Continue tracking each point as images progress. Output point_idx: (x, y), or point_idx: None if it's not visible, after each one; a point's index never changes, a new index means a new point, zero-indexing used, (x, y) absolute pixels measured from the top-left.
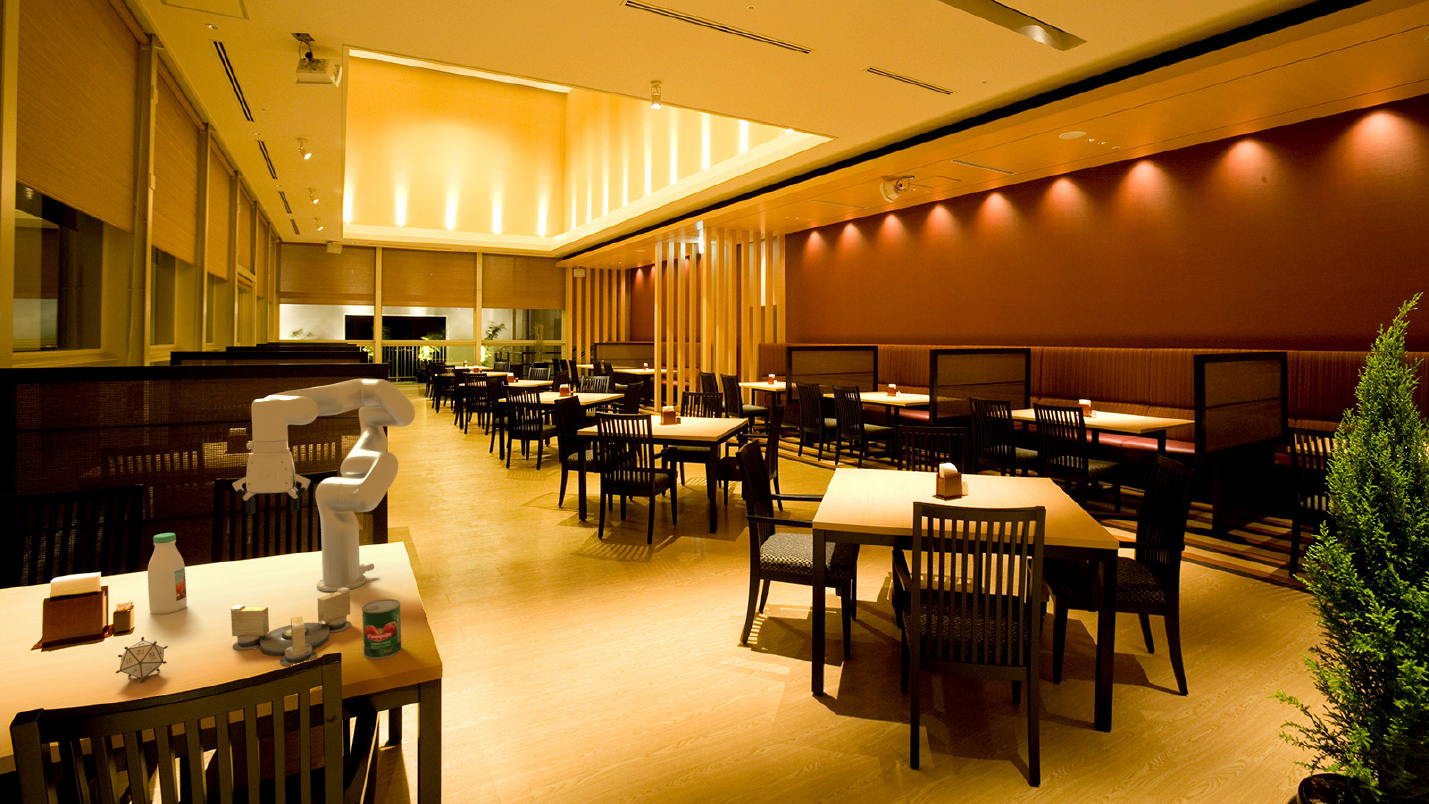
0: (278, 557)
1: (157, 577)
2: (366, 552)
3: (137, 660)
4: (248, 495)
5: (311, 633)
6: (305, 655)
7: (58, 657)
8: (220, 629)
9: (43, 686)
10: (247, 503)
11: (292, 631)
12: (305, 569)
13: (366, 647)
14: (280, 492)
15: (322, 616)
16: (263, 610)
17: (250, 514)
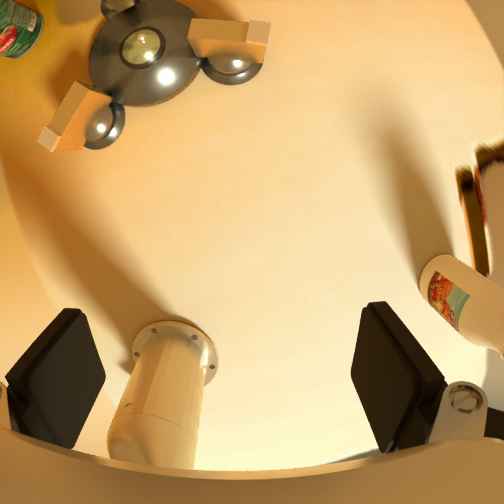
0: (328, 459)
1: (485, 279)
2: (205, 466)
3: None
4: (456, 427)
5: (114, 52)
6: None
7: (492, 107)
8: (325, 146)
9: (455, 12)
10: (428, 360)
11: None
12: (273, 426)
13: (31, 9)
14: (25, 436)
15: (97, 89)
16: (191, 22)
17: (369, 307)
